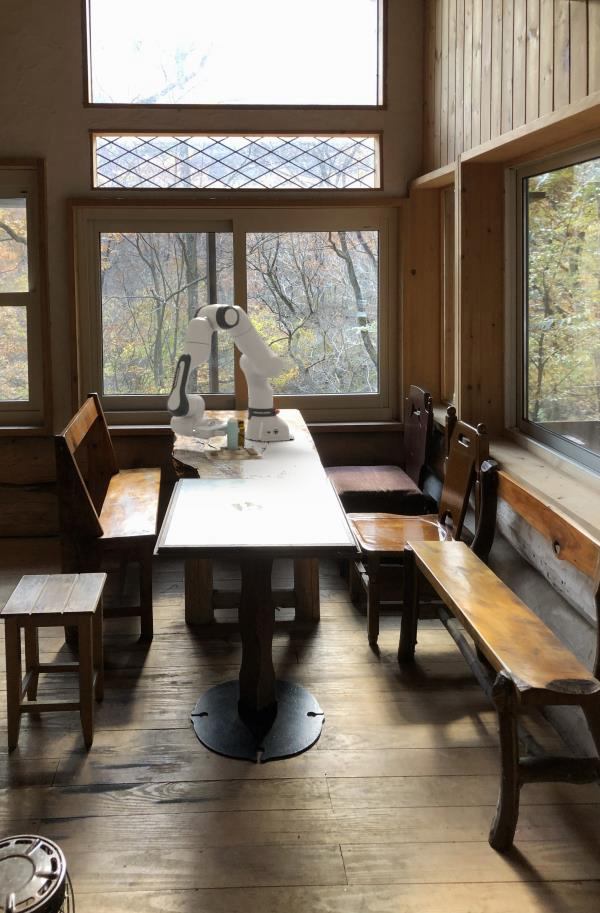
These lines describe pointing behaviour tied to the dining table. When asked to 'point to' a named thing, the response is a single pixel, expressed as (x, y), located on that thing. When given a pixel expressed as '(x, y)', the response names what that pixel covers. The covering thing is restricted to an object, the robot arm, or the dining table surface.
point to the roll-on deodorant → (232, 434)
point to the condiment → (241, 434)
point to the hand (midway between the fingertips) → (231, 432)
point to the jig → (232, 453)
